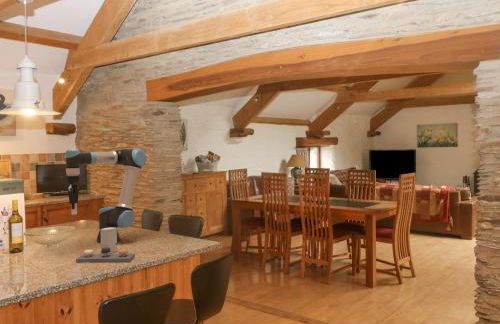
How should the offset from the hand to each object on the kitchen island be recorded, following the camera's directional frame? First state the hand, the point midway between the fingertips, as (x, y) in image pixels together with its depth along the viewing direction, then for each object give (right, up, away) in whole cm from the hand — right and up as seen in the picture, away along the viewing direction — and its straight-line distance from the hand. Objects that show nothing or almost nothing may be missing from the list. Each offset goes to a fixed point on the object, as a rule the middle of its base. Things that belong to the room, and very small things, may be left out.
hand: (74, 214), depth 275 cm
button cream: (+13, -24, -12) cm, 30 cm away
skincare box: (+19, -24, +6) cm, 31 cm away
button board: (+23, -25, -12) cm, 36 cm away
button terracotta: (+33, -24, -12) cm, 43 cm away
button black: (+23, -23, -12) cm, 35 cm away
